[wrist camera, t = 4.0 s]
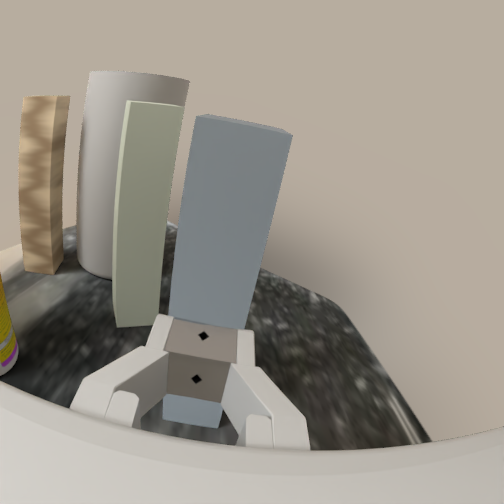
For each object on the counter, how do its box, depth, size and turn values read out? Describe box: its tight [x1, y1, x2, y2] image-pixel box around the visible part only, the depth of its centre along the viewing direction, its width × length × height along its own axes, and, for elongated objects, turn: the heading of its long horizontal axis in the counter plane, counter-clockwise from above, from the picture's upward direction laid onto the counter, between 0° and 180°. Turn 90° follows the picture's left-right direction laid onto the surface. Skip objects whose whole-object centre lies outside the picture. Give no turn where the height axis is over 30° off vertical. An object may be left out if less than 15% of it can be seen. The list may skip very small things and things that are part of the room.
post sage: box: [112, 100, 185, 328], centre depth 29 cm, size 4×4×22 cm
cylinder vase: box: [77, 71, 190, 279], centre depth 38 cm, size 12×12×25 cm
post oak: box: [19, 96, 70, 275], centre depth 33 cm, size 4×4×22 cm
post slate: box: [163, 114, 293, 428], centre depth 21 cm, size 4×4×22 cm
